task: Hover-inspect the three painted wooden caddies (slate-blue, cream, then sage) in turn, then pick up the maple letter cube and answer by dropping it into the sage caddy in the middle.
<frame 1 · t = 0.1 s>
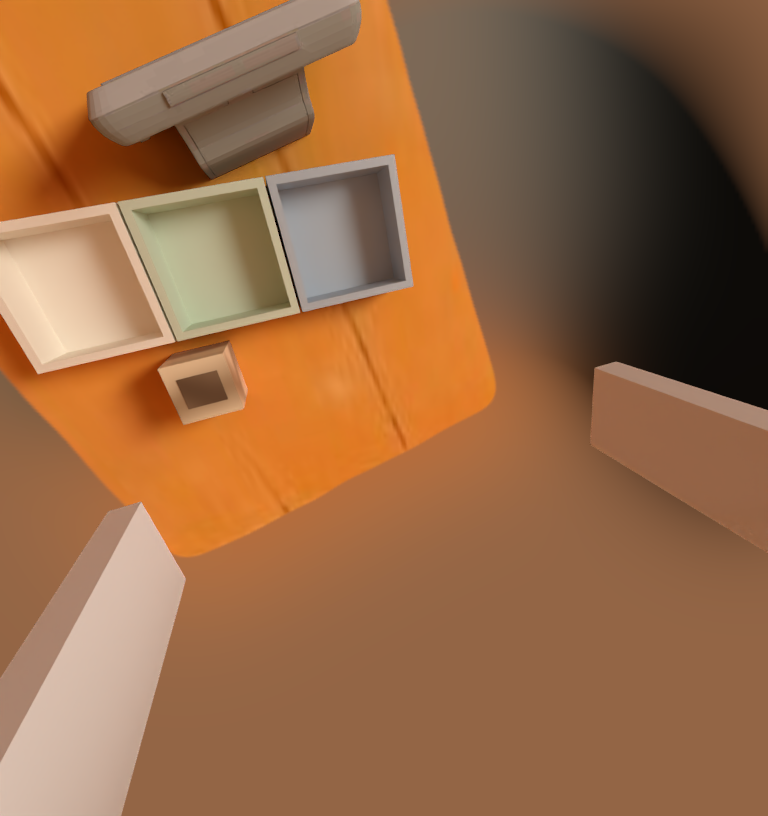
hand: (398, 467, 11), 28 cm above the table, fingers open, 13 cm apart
caddy cream: (99, 287, 30), on the table
letter cube: (212, 372, 35), on the table
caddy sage: (224, 261, 32), on the table
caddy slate: (338, 238, 34), on the table
digital clock: (232, 97, 28), on the table
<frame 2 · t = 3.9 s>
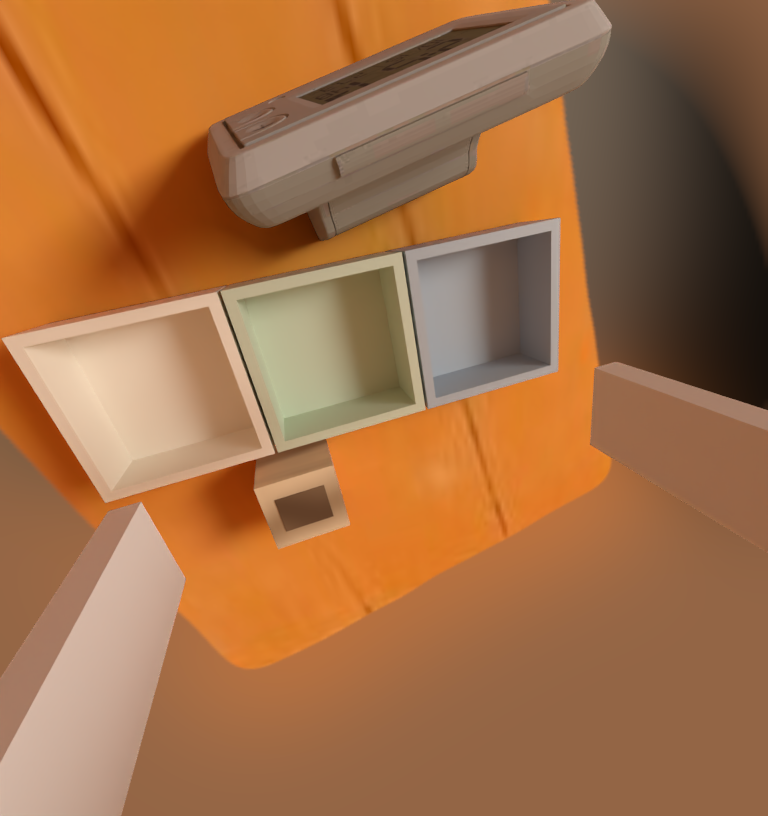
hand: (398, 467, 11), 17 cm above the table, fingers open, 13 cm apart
caddy cream: (175, 380, 24), on the table
letter cube: (300, 468, 29), on the table
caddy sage: (327, 342, 26), on the table
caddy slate: (461, 309, 27), on the table
digital clock: (355, 138, 22), on the table
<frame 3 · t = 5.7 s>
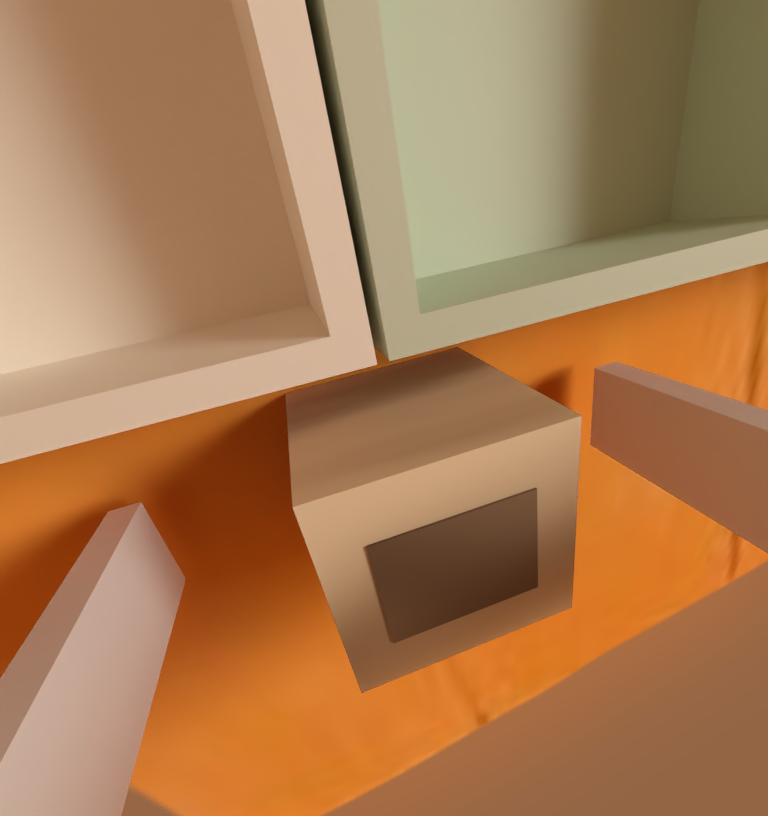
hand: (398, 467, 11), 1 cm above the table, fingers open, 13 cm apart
caddy cream: (5, 109, 7), on the table
letter cube: (389, 444, 12), on the table
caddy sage: (510, 44, 8), on the table
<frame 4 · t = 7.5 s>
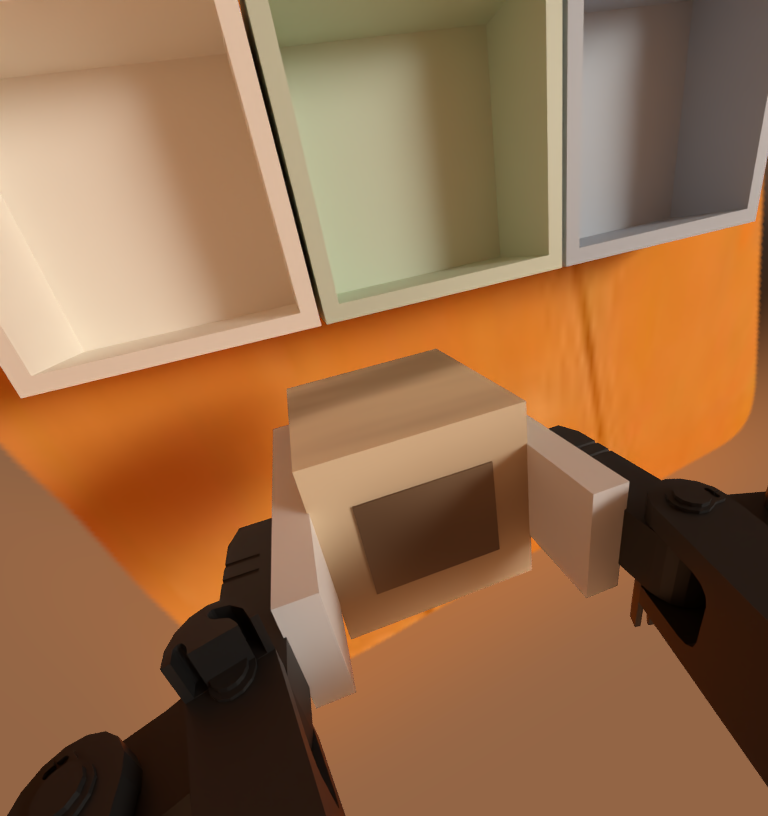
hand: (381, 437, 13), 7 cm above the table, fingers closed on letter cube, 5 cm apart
caddy cream: (154, 215, 15), on the table
letter cube: (379, 435, 13), point 7 cm above the table, touching gripper
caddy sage: (397, 172, 16), on the table
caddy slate: (594, 136, 18), on the table
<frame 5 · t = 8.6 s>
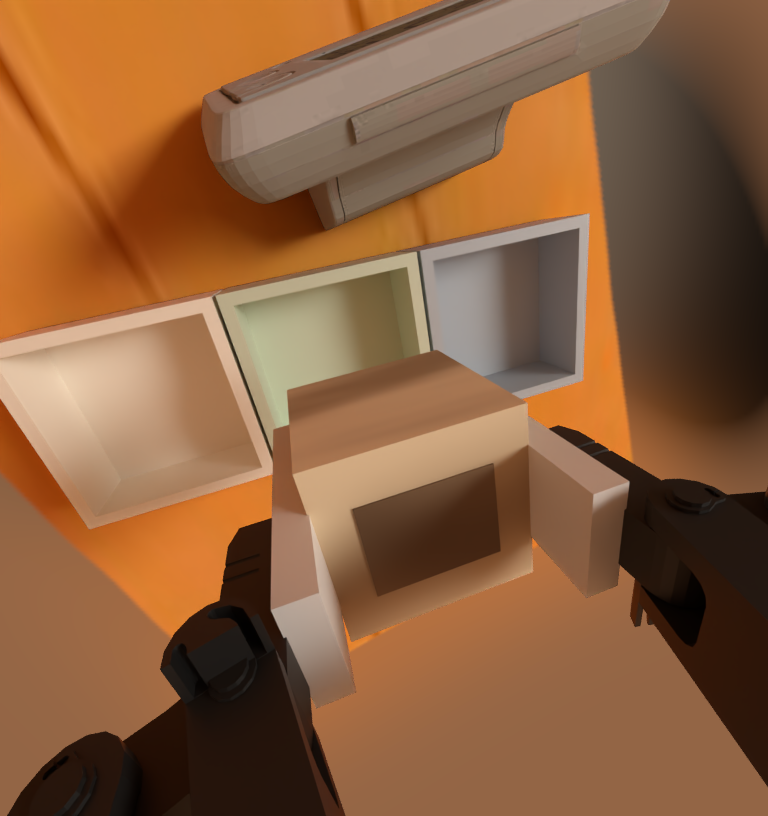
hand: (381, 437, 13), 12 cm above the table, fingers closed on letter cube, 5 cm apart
caddy cream: (167, 392, 22), on the table
letter cube: (379, 436, 13), point 12 cm above the table, touching gripper
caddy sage: (333, 350, 24), on the table
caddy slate: (477, 313, 25), on the table
digital clock: (366, 118, 20), on the table
when the fingers open (6 cm above the table, at t = 10.0 s): letter cube drops 5 cm, resting on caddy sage.
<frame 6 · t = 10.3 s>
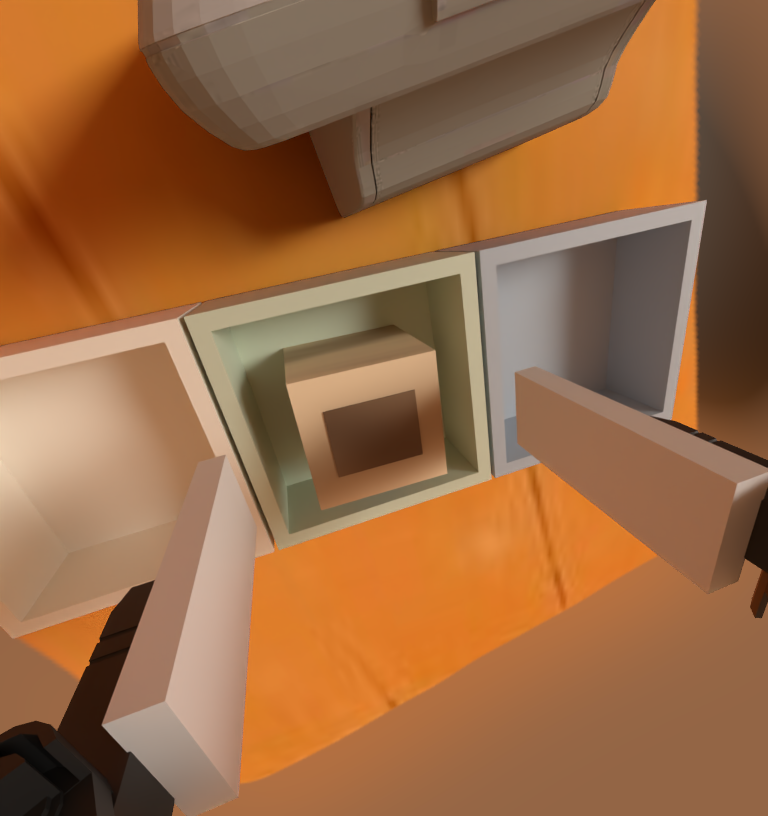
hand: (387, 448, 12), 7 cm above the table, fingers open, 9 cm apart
caddy cream: (129, 439, 16), on the table
letter cube: (350, 388, 18), point 1 cm above the table, touching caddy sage
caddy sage: (348, 380, 18), on the table
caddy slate: (532, 331, 20), on the table
digital clock: (402, 60, 14), on the table
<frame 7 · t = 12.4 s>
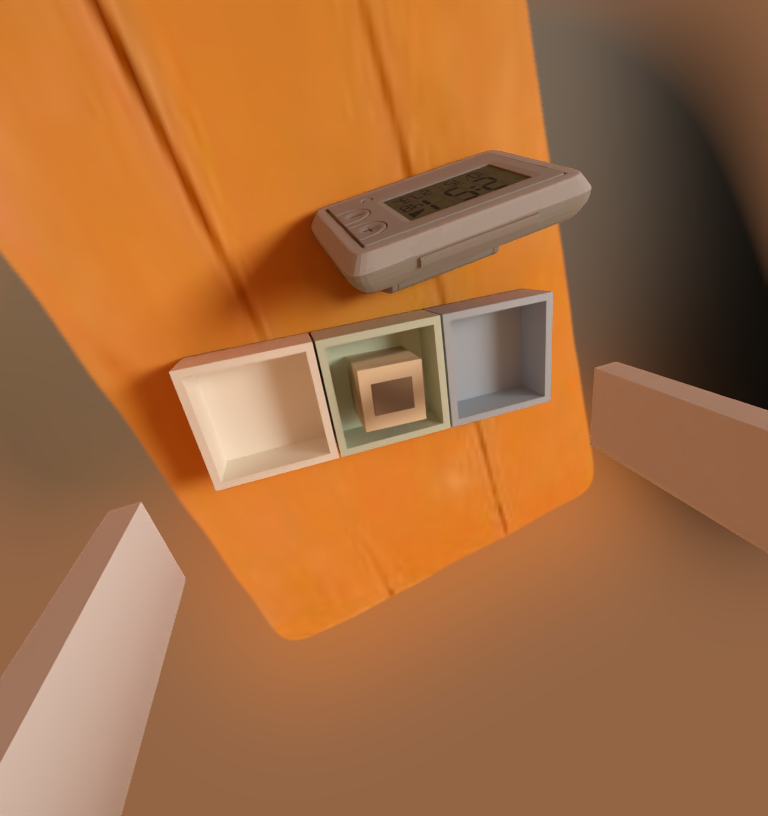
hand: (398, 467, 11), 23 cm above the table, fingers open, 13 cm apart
caddy cream: (263, 400, 32), on the table
letter cube: (377, 378, 33), point 1 cm above the table, touching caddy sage
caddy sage: (376, 374, 34), on the table
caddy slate: (477, 351, 36), on the table
digital clock: (410, 221, 30), on the table
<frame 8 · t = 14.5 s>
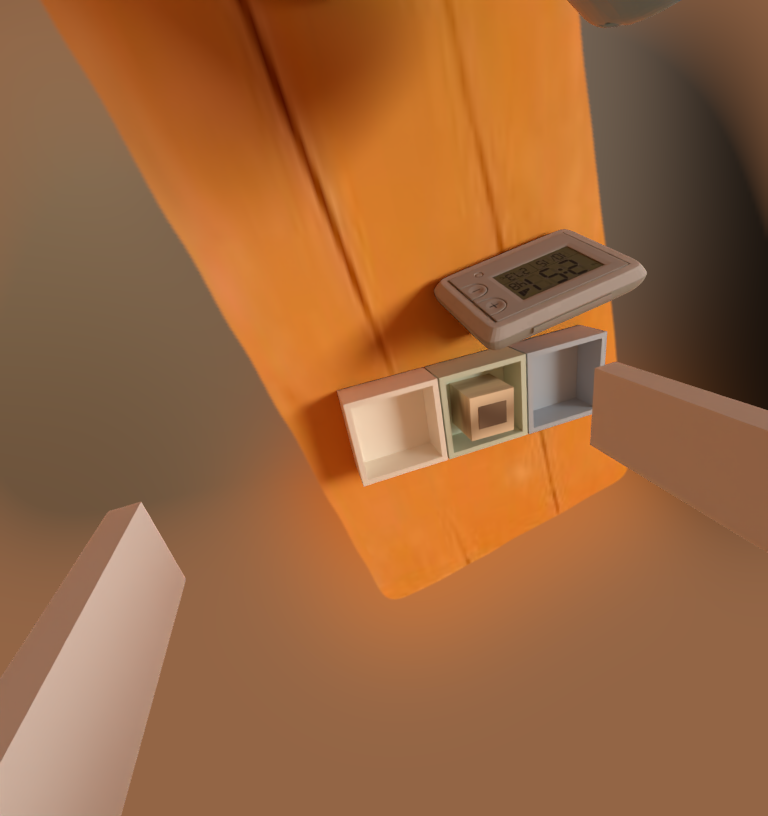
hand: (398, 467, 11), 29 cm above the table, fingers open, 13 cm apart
caddy cream: (388, 418, 43), on the table
letter cube: (470, 398, 44), point 1 cm above the table, touching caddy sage
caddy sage: (468, 395, 44), on the table
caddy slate: (543, 373, 46), on the table
digital clock: (500, 280, 40), on the table
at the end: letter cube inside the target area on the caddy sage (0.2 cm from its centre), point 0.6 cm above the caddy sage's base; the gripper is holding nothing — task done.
